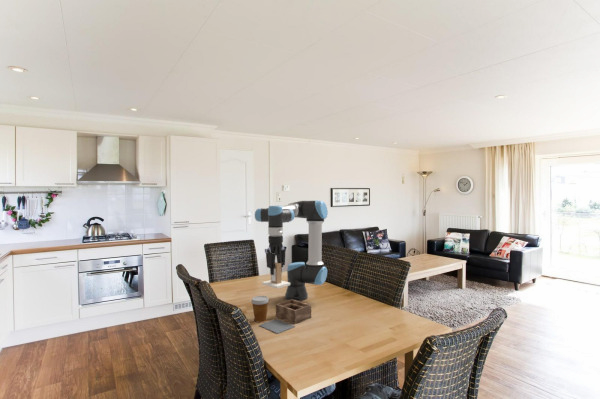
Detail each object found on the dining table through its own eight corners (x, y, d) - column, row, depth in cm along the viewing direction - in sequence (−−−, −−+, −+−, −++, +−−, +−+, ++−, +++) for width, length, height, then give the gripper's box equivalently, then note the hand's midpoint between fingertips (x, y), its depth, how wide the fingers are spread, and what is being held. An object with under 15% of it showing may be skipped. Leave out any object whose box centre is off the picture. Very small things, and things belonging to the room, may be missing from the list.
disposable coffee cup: (252, 324, 177) (252, 301, 177) (250, 317, 186) (250, 296, 186) (270, 322, 179) (270, 300, 179) (267, 315, 189) (267, 294, 188)
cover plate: (262, 284, 174) (261, 263, 174) (275, 281, 180) (274, 260, 180) (277, 288, 166) (276, 266, 166) (290, 285, 172) (290, 263, 172)
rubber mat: (258, 325, 174) (258, 325, 174) (276, 319, 183) (276, 318, 183) (277, 334, 164) (277, 333, 164) (295, 326, 172) (295, 326, 172)
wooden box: (275, 316, 187) (275, 304, 187) (292, 310, 196) (291, 299, 196) (295, 324, 176) (295, 310, 176) (311, 317, 185) (311, 305, 185)
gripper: (268, 237, 164) (269, 284, 165) (291, 234, 176) (292, 278, 176) (258, 236, 170) (259, 281, 170) (282, 233, 181) (282, 276, 181)
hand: (276, 280), depth 173 cm, fingers closed on cover plate, 3 cm apart
